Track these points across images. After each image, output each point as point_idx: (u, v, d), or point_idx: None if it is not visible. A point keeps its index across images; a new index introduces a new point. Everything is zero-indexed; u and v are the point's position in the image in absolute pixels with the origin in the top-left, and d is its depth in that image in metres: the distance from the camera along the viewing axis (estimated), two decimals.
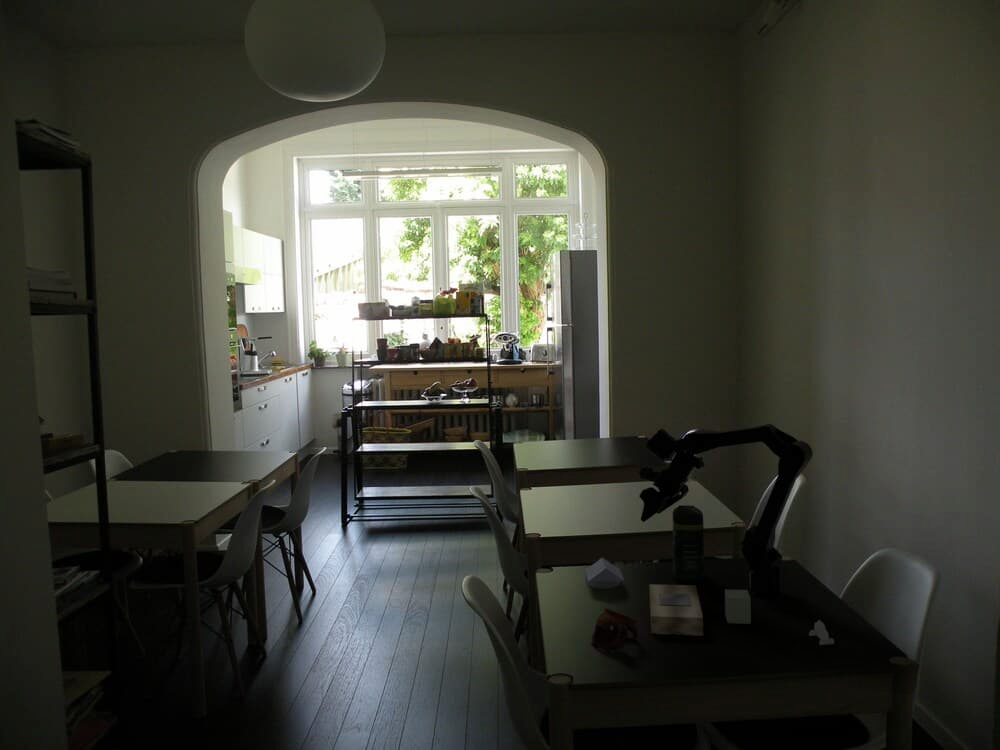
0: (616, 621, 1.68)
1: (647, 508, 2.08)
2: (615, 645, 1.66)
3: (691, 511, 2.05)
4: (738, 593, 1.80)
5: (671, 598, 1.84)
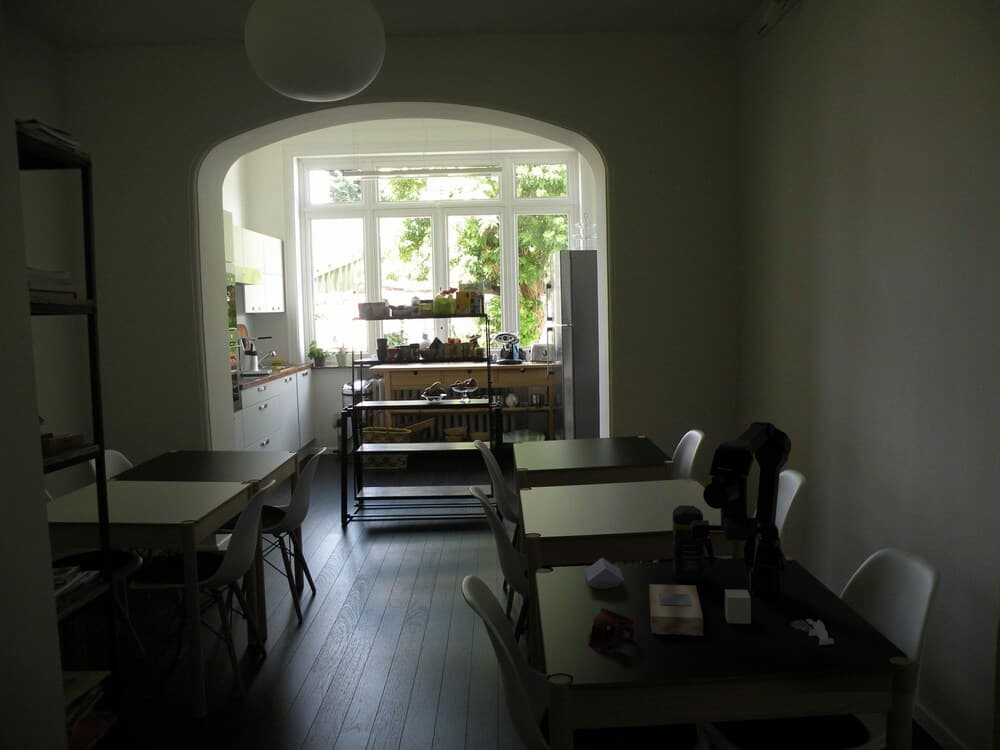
0: (613, 621, 1.68)
1: None
2: (612, 645, 1.66)
3: (691, 511, 2.05)
4: (738, 593, 1.80)
5: (671, 598, 1.84)
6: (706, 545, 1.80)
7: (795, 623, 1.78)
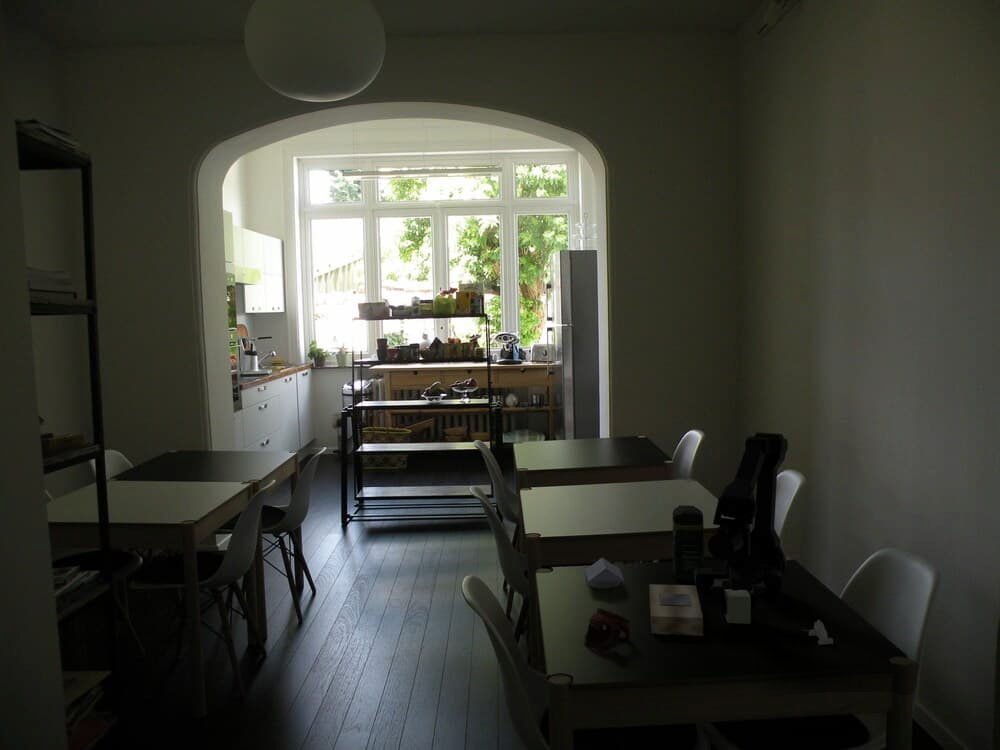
0: (609, 621, 1.68)
1: None
2: (608, 645, 1.66)
3: (691, 511, 2.05)
4: (738, 593, 1.80)
5: (671, 598, 1.84)
6: (719, 593, 1.80)
7: None
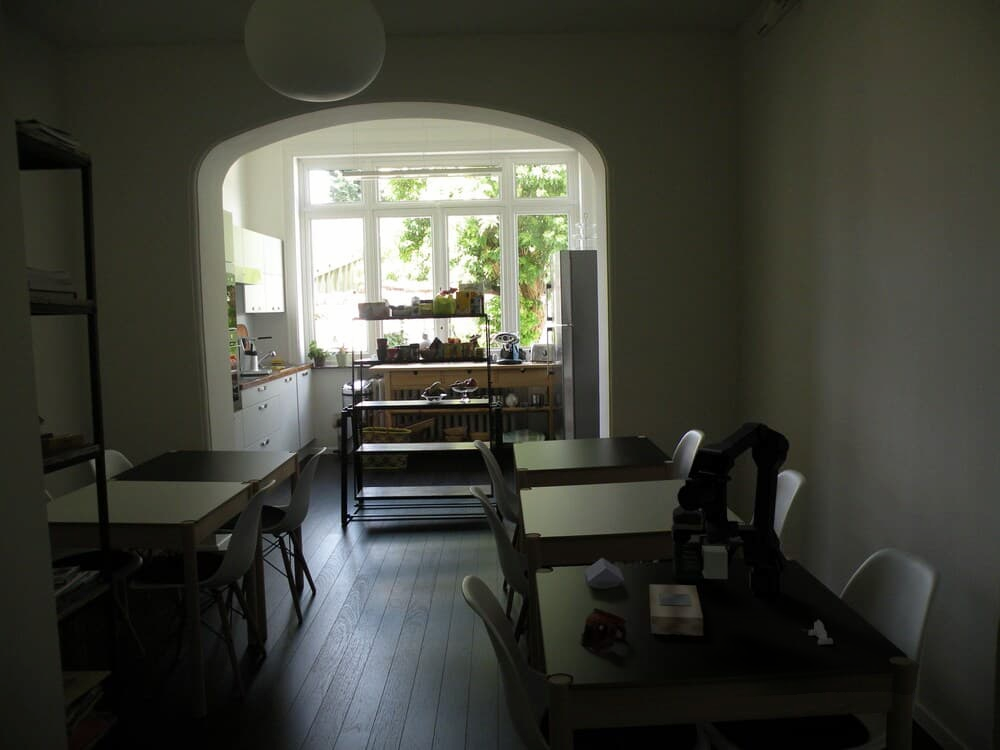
0: (605, 621, 1.68)
1: None
2: (605, 645, 1.66)
3: (691, 511, 2.06)
4: (715, 549, 1.80)
5: (671, 598, 1.84)
6: (696, 549, 1.79)
7: None
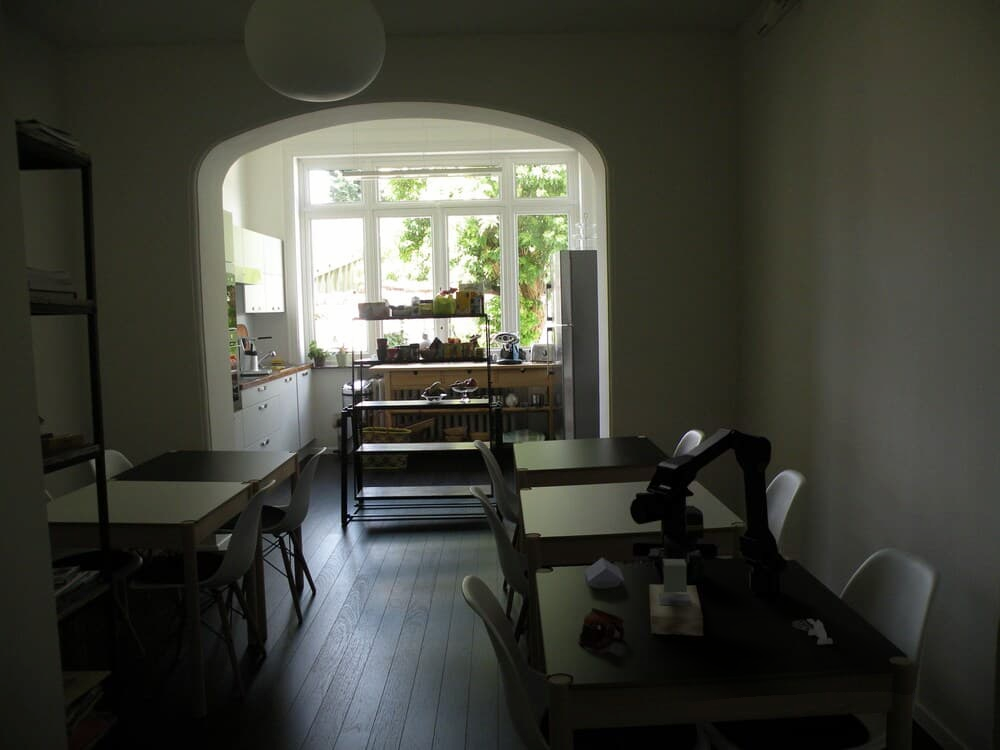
0: (603, 620, 1.68)
1: None
2: (603, 644, 1.66)
3: (691, 511, 2.05)
4: (675, 562, 1.82)
5: (671, 598, 1.84)
6: (655, 563, 1.81)
7: (795, 622, 1.78)
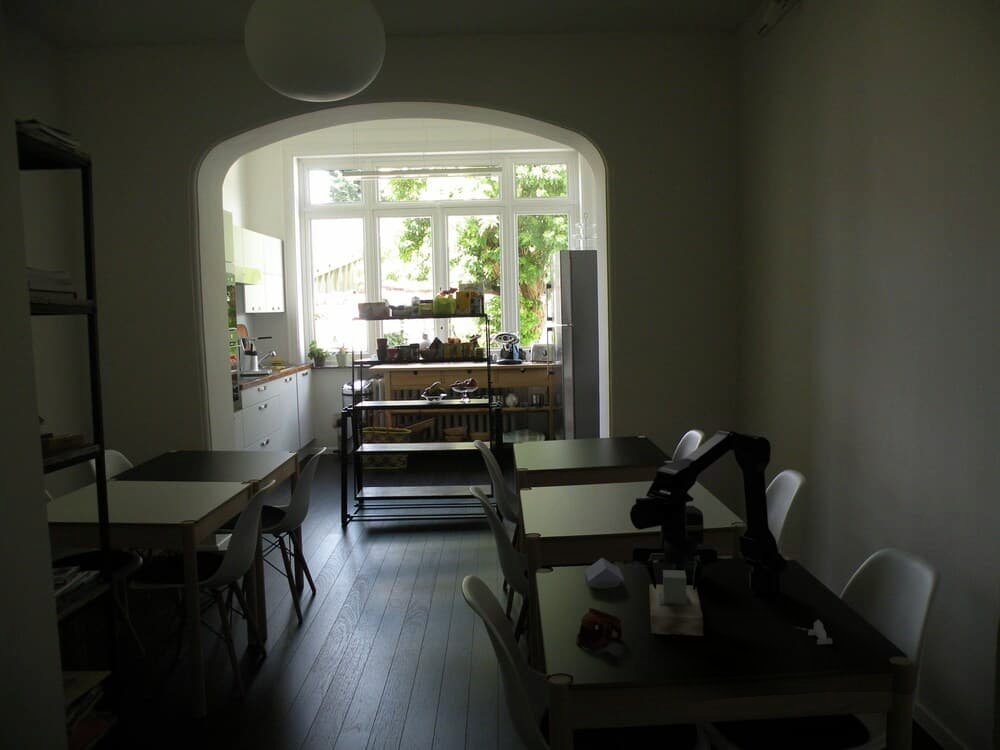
0: (601, 620, 1.68)
1: None
2: (600, 644, 1.66)
3: (691, 511, 2.05)
4: (675, 574, 1.82)
5: None
6: (648, 568, 1.82)
7: None
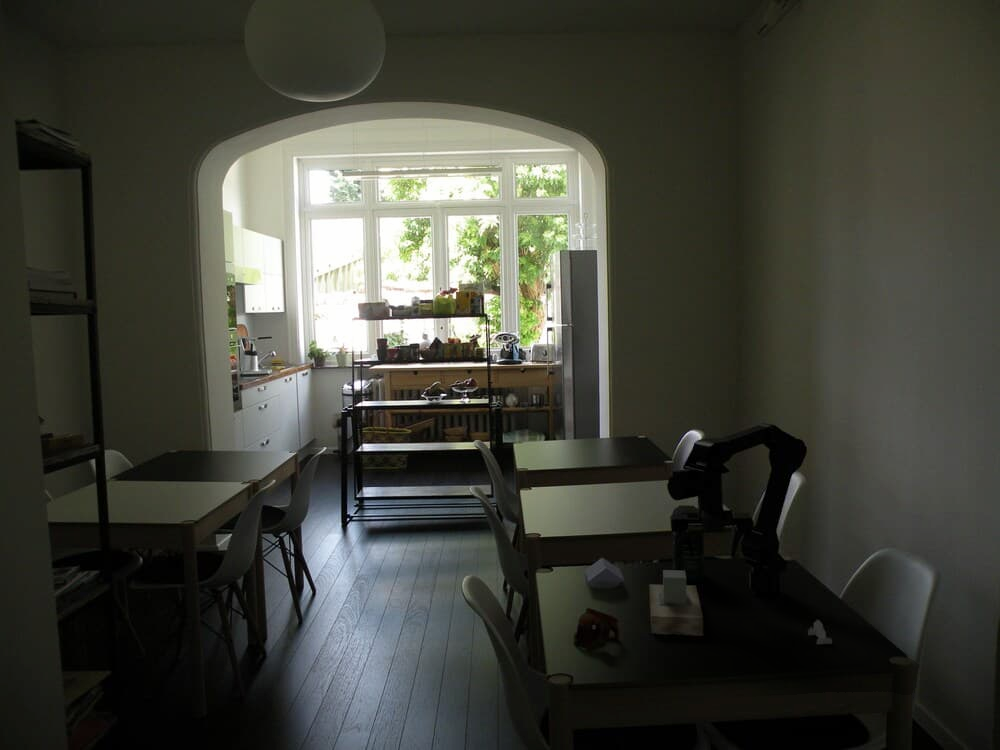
0: (598, 620, 1.68)
1: None
2: (598, 644, 1.66)
3: (691, 511, 2.05)
4: (675, 574, 1.82)
5: None
6: (685, 538, 1.88)
7: None
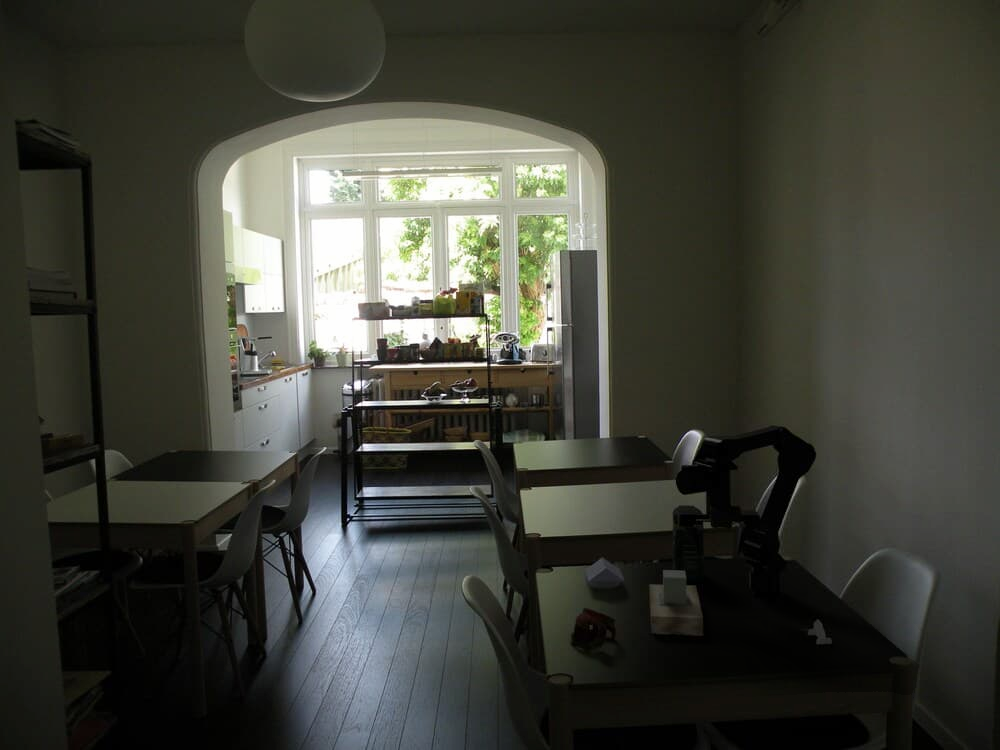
0: (595, 620, 1.69)
1: None
2: (595, 644, 1.67)
3: None
4: (675, 574, 1.82)
5: None
6: (692, 533, 1.89)
7: None
